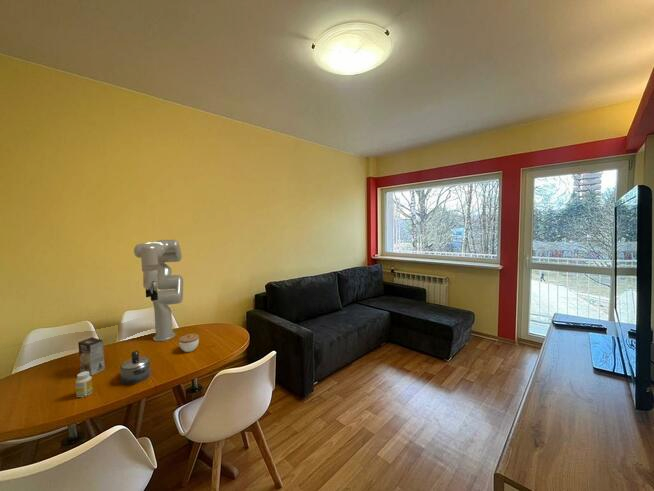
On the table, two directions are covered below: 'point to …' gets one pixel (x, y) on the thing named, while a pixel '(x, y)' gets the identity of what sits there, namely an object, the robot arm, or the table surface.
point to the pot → (135, 374)
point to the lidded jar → (189, 342)
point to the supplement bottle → (83, 384)
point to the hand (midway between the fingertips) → (151, 298)
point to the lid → (135, 361)
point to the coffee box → (91, 355)
